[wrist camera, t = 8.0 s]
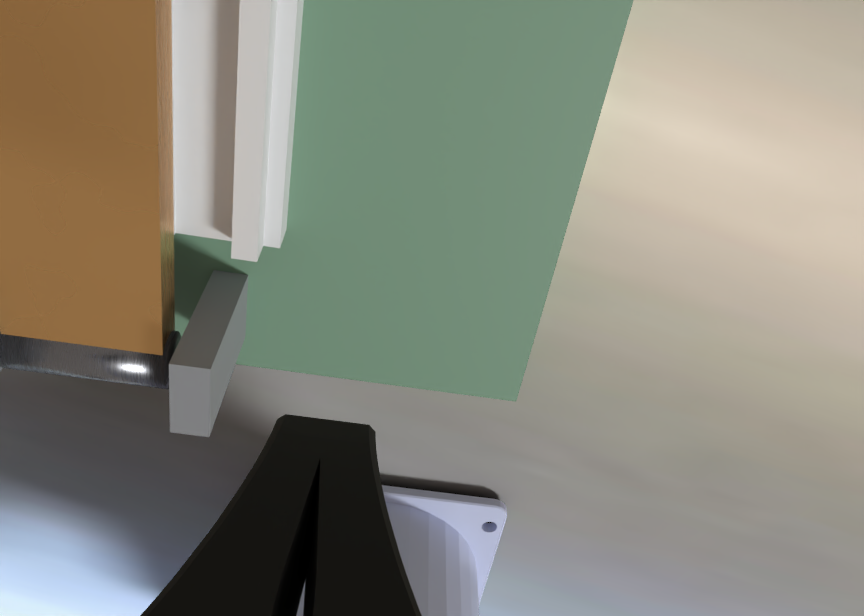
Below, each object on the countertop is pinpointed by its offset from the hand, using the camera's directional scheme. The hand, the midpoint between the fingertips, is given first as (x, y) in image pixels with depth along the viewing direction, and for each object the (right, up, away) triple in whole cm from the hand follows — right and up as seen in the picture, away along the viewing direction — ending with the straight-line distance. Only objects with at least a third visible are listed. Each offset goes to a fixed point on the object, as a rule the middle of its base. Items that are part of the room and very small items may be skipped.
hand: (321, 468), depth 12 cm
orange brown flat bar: (-5, +7, +4) cm, 10 cm away
